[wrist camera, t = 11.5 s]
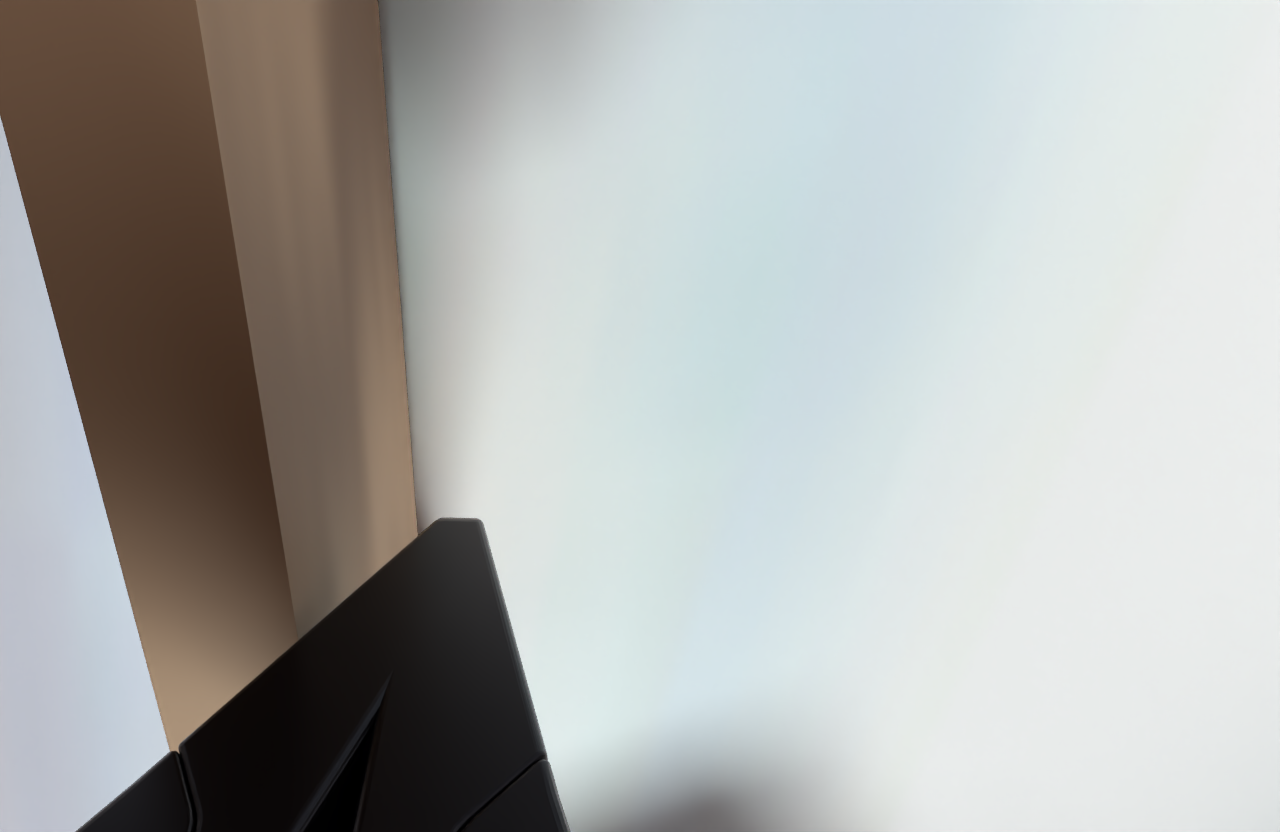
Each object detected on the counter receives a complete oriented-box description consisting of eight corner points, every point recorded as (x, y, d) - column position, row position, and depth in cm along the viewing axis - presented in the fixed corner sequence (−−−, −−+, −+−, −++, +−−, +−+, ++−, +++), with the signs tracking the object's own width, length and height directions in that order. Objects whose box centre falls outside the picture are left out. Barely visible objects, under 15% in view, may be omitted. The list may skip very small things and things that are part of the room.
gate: (146, -650, 7) (-456, -1339, 3) (351, -632, 7) (22, -1288, 3) (330, 662, 13) (213, 993, 9) (438, 664, 14) (365, 993, 10)
